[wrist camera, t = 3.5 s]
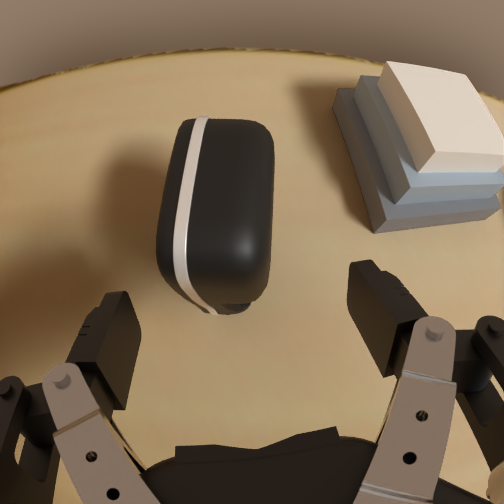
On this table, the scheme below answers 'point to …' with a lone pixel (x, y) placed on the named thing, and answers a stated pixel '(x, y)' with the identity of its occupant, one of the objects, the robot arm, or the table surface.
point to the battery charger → (218, 214)
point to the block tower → (421, 147)
